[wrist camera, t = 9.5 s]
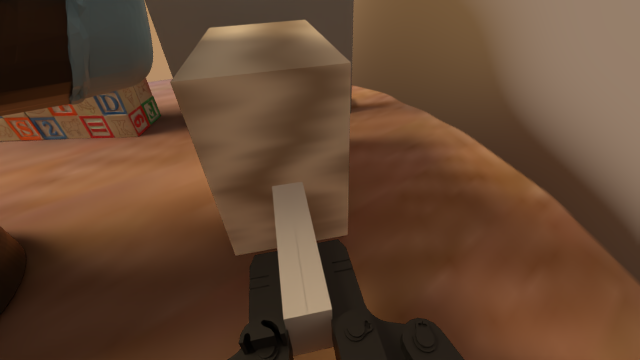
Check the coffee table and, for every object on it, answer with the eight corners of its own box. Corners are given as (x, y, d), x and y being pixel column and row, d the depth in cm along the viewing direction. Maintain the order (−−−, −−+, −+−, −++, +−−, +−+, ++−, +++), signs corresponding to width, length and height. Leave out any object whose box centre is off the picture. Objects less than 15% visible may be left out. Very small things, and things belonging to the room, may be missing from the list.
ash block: (235, 256, 19) (170, 82, 12) (241, 152, 30) (209, 27, 23) (347, 235, 20) (350, 62, 13) (314, 141, 31) (305, 19, 24)
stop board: (193, 132, 34) (143, -4, 26) (199, 116, 38) (157, -8, 29) (350, 112, 37) (353, -18, 28) (341, 98, 40) (341, -20, 32)
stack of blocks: (-26, 143, 35) (-127, 35, 27) (17, 121, 40) (-58, 24, 32) (140, 137, 34) (83, 23, 27) (163, 115, 39) (121, 14, 32)
